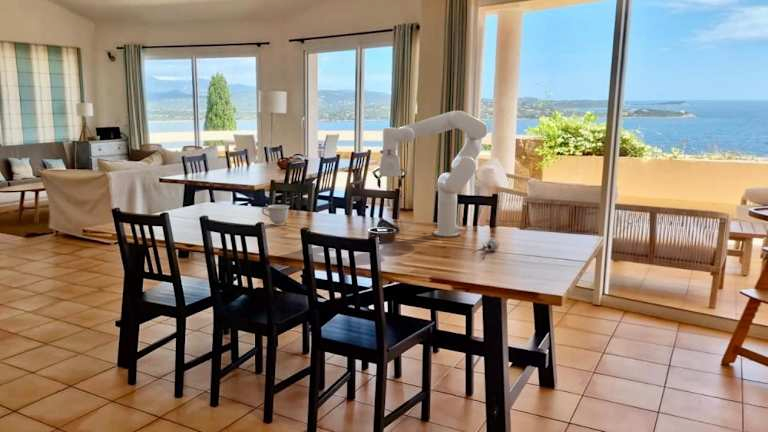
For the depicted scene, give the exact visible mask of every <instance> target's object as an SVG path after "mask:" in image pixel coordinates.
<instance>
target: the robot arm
mask: <svg viewBox="0 0 768 432" xmlns="http://www.w3.org/2000/svg"><path fill="white" fill-rule="evenodd" d="M454 129H458V130H460V131H462V132H464V133H465V136H466V137H465V143H464V145H463V146H462V147H461V150H460V151H459V152H458V153H457V155H456V156H455V157H454V159H453V160H452V162H451V169H452V171H451V172H443V173H441V174H440V175H439V177H438V179H437V198H438V199H437V227H436V228H437V229H436V230H434V231H433V234H434V235H435V236H438V237H444V238H445V237H446V238H447V237H448V238H449V237H452V238H453V237H457V236H459V235H460V232H466V227H462V226H458V225H457V216H458V215H457V214H458V193H460V192H461V191H462V190H464V188H465V187H466V185H467V184H468V183H469V181H470V180H471V178H472V177H473V175H474V174H475V172H476V170H477V162H476V159H477V157H478V156H479V154H480V153H481V151H482V148H483V139H484V138H485V137H486V136H487V135H488V132H489V128H488V125H487V123H485V122H484V121H482V120H480V119H479V118H477V117H475V116H473V115H471V114H469V113H467V112H465V111H463V110H451V111H448V112H444V113H442V114H438V115H435V116H432V117H428V118H425V119H423V120H419V121H416V122H412V123H409V124H406V125H403V126H400V127H389V126H388V127H383V128H382V138H381V139H382V142H381V143H382V145H381V146H382V148H381V150H378V154H381V155H380V158H379V165H378V167H376V168H375V169H373V170H371V173H372V175H373V176H374V178H375V179H376V180H377V187H378V189H381V186H382V181H381V178H382V177H393V178H395V177H396V178H398V180H397V188H398V189H401V187H402V180H403V179H405V177H406V175H407V174H408V171H407V169H404V168H402V167H401V160H400V159H401V158H400V156H399V155H398V154H399V153H398V152H399V150H398V149H399V143H404V144H408V143H409V144H410V143H411V142H413V141H414V140H415V139H417V138H420V137H427V136H428V137H429V136H435V135H439V134H441V133H444V132H448V131H452V130H454ZM377 172H378V174H379V175H377V174H376V173H377ZM401 172H403V173H402V175H401Z"/></svg>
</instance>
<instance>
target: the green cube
mask: <svg viewBox="0 0 768 432" xmlns="http://www.w3.org/2000/svg"><path fill="white" fill-rule="evenodd" d="M377 232H378V233H387V229H377Z"/></svg>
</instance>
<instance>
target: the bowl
mask: <svg viewBox="0 0 768 432" xmlns="http://www.w3.org/2000/svg"><path fill="white" fill-rule="evenodd" d="M377 229H387V233H378V232H377ZM372 235H374V236H378V237H379V241H380V243H379V244H391V243H394V242H395V241H397V240H396V239H397V233H396V230H395V229H392V228H384V227H378V228H377V227H371V228H368V229H367V238H368V237H370V236H372Z"/></svg>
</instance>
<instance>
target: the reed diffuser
mask: <svg viewBox="0 0 768 432" xmlns="http://www.w3.org/2000/svg"><path fill="white" fill-rule="evenodd" d="M499 247H500V243H499V242H498V241H497V240H496V239H489V241H487V243H486V245H485V244H482V248H481V249H477V250H476V251H472V254H474V253H476V252H479V251H481V250H486V249H487V250H486V252H485V254H484V256H483V258H482V260H484V259H485V257H486V255H487V253H488V251H490V252H494V251H496V250H498V249H499Z"/></svg>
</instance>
